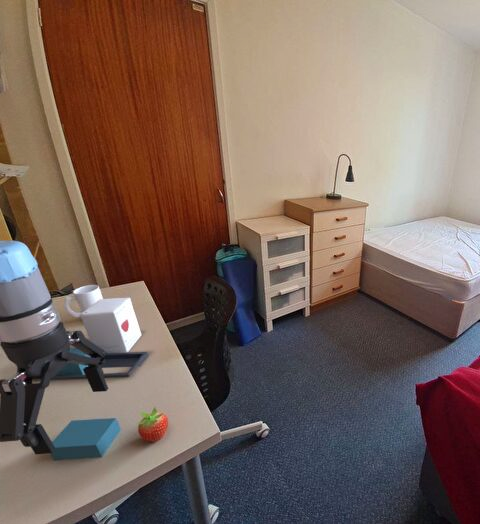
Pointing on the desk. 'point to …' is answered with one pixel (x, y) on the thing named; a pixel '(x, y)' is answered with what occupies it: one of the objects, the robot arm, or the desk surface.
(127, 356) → the backing tray
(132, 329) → the rectangular carton
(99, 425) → the loose blue pad
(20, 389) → the robot arm
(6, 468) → the desk surface
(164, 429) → the fruit
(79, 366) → the seated pad
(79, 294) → the mug
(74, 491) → the desk surface
